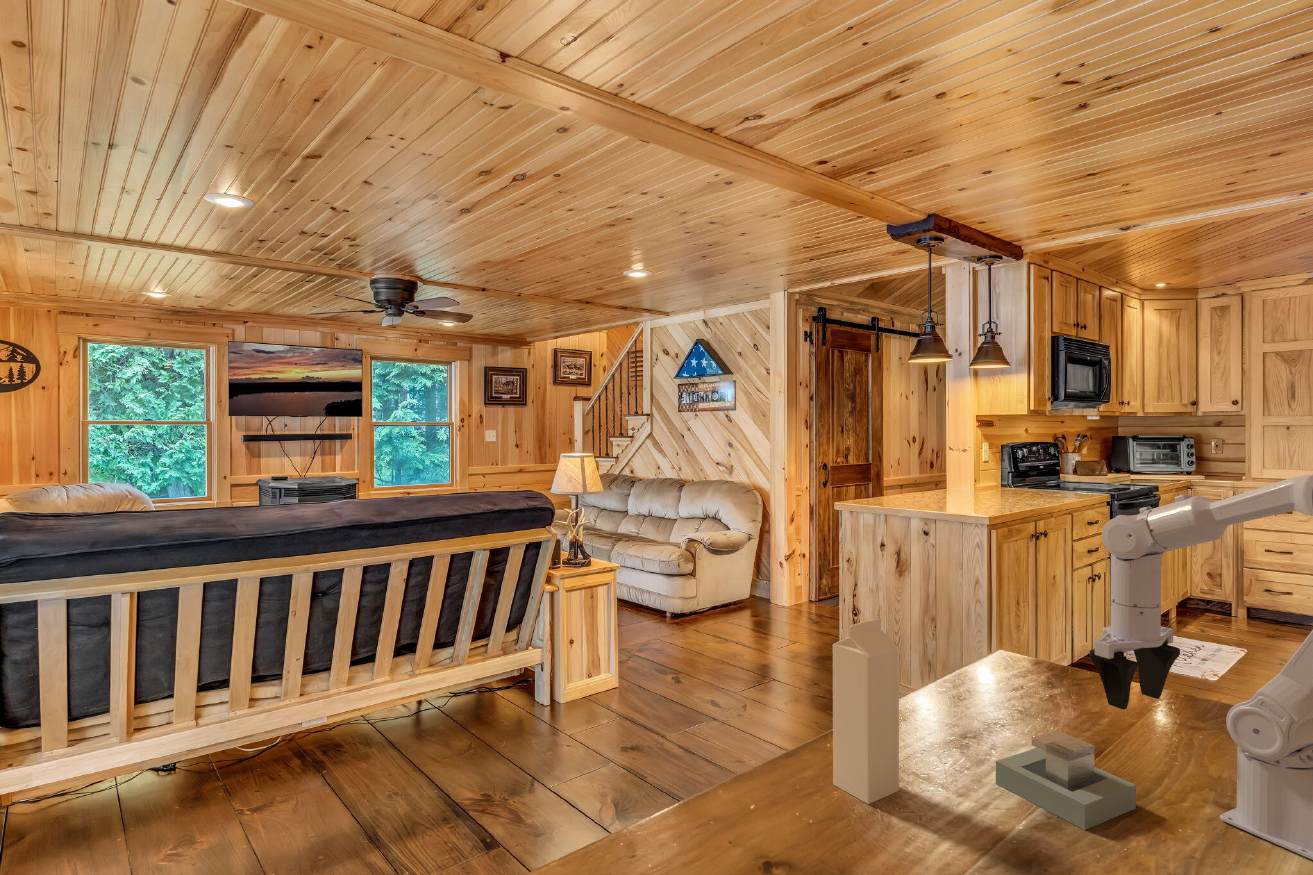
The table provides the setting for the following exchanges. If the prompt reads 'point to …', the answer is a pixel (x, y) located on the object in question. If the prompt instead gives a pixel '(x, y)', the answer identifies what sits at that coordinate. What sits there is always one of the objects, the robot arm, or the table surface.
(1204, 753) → the table surface
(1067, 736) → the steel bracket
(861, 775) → the milk
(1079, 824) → the well block
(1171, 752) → the table surface
